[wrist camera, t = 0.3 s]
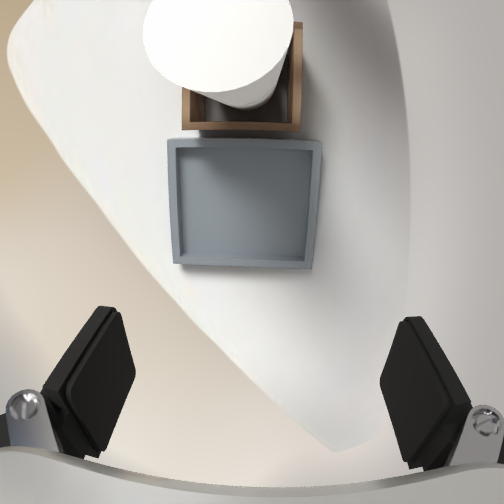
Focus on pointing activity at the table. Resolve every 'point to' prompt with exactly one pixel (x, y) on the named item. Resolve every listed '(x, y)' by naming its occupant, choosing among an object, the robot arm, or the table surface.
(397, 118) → the table surface
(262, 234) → the slate tray
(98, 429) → the robot arm
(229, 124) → the walnut box
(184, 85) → the cylindrical container
